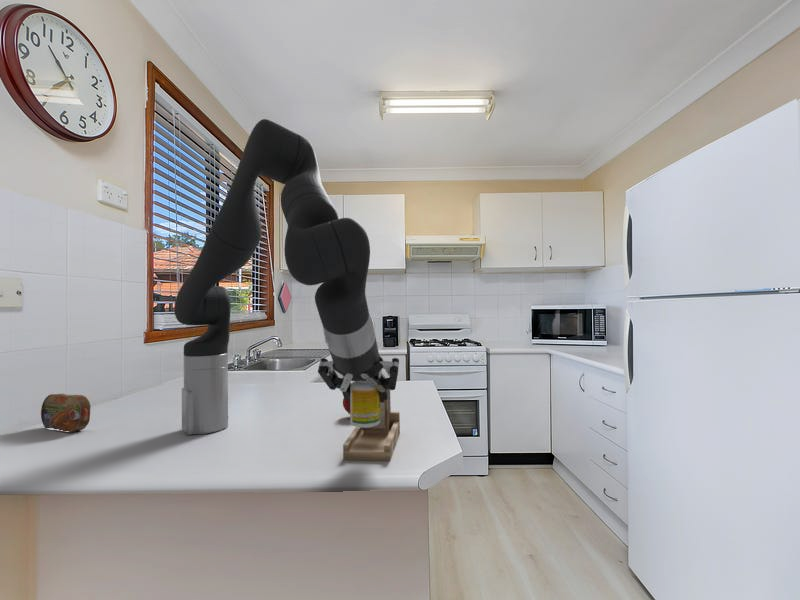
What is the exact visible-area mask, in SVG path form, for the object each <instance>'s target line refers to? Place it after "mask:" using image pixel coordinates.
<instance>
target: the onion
mask: <svg viewBox="0 0 800 600" xmlns="http://www.w3.org/2000/svg"><path fill="white" fill-rule="evenodd" d="M342 407H343V409H344V410H345V411H346V412H347V413H348V415H350V402H348V400H347V399H345V398H344V397H343V399H342Z"/></svg>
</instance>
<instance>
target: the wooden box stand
mask: <svg viewBox="0 0 800 600" xmlns="http://www.w3.org/2000/svg"><path fill="white" fill-rule="evenodd" d="M391 408H392V407H391V390H390V389H388V399H387V400H385V402H380V423H379V424H378V425H376V426H373V427H367V428H362V427H355V428H354V429H353V431H352V432H351V433H350V434H349V436H348V437H347V439H346V440H345V441H344V442H343V444H342V456H343V457H342V458H343V459H342V460H344V461H347V460H348V461H377V462H378V461H386V462H391V460H392V457H393V453H394V450H395V448H396V445H397V442H398V439H399V436H400V434H401V429H400V428H401V426H400V425H401V424H400V423H401V422H400V416H401V415H400V411H392V410H391Z"/></svg>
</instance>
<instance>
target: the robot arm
mask: <svg viewBox="0 0 800 600" xmlns="http://www.w3.org/2000/svg"><path fill="white" fill-rule="evenodd" d="M259 176H262V177H265V178H267V179H269V180H272V181H275V182H276V183H280V184H282V185H284V186H283V188H282V191H281V194H280V206H281V210H282V213H283V217H284V219H285V222H286V224H287V229H286V232H285V234H286V235H285V239H284V260H285V263H286V264H285V265H286V268H287V269H288V272H289V273H290V275H291V277H292V278H293V279H294V280H295V281H297V282H298V283H300V284H302V285H304V286H316V285H319V286H318V287H317V289H316V291H315V295H314V302H315V305H316V309H317V312H318V315H319V318H320V322H321V325H322V331H323V335H324V336H323V337H324V341H325V343H326V345H327V348H328V351H329V354H330V357H331V360H330V361H329V360H328V359H327V358H325V357H324V358H323V357H322V358H320V362H319V365H318V369H317V373H318V374H319V376H320V377H321V379H322V380H323V381H324V383H325V384H326V385H327V387H328V388H329V389H330V390H332V391H335V390H336V389H339V391H340V392H341V393H342V396H343V399H344V398H345V399H347V400H348V402H350V385H351V383H352V382H354V381H359V380H361V381H367V382H368V383H369V384H370V385H371V386H372V387H376V388H377V389H378V393H379V398H380V402H385V400H387V399H388V389H390V391H394V390H395V389H396V387H397V381H398V375H399V365H400V359H399V358H398V357H393V358H392V359H391V361H389V360H384V359H383V358H382V357H381V355H380V353H379V348H378V347H379V346H378V342H377V337H376V331H375V327H374V323H373V320H372V317H371V315H370V312H369V311H370V310H369V306H368V305H369V304H368V301H367V297H366V296H367V295H366V286H367V277H368V272H369V267H370V266H369V265H370V259H371V245H370V240H369V235H368V234H367V231H366V229H365V228H364V227H363V226H362V224H361V223H360V222H359V221H357V220H356V219H354V218H351V217H341V218H339V215H338V211H337V209H336V208H335V206H334V204H333V202H332V201H331V198H330V197H329V195H328V193H327V192H326V190H325V188H324V186H323V184H322V183H323V182H322V178H321V173H320V168H319V164H318V158H317V155H316V152H315V149H314V147H313V145H312V143H311V142H310V141H309V139H307V138H305V137H304V136H302V135H301V134H298V133H296V132H295V131H292V130H290V129H288V128H286V127H284V126H283V125H280V124H278V123H276V122H275V121H272V120H269V119H267V118H263V119H260V120H259V121H257V123H256V124H255V125H254V127H253V128H252V130H251V132H250V134H249V136H248V139H247V142H246V145H245V147H244V149H243V152H242V155H241V158H240V160H239V163H238V166H237V169H236V171H235V175H234V178H233V180H232V183H231V185H230V188H229V190H228V192H227V194H226V197H225V198H224V201H223V203H222V205H221V207H220V209H219V211H218V213H217V215H216V216H215V219H214V221H213V223H212V225H211V228H210V229H209V232H208V234H207V236H206V239H205V242H204V244H203V246H202V248H201V250H200V253H199V256H198V257H197V259H196V261H195V263H194V265H193V267H192V268H191V270H190V272H189V273H188V275H187V277H186V278H185V280H184V282H183V283H182V284H181V287H180V288H179V291H178V292H177V295H176V298H175V302H174V307H173V308H174V309H173V310H174V317H175V319H176V320H177V321H178V322H179V323H180V324H182V325H184V326H207V330H206V331H205V332H203V334H202V335H200V336H198V337H196V338H194V339H192V340H188V341H187V342H186V343H185V344H184V345H183V387H182V388H181V430H182V431H183V433H184V434H185V435H186V436H190V435H201V434H202V435H203V434H210V433H216V432H219V431H221V430H224V429H226V428H227V427H228V426H229V363H228V362H229V361H228V360H229V358H228V357H229V353H228V352H229V348H228V347H229V342H230V331H231V330H230V328H231V327H230V325H231V312H232V311H231V309H232V307H231V305H232V304H231V303H232V302H231V297H230V293H229V291H228V290H227V288H226V287H224V286H218V285H217V284H218V283H220V282H221V281H223V280H224V279H226V278H227V277H229V276H231V275H233V274H234V273H236V272H238V271H239V270H240V269H242V268H243V267H245V266H246V264H248V262H249V261H250V260H251V258H252V256H253V255H254V253H255V252H256V249H257V248H258V246H259V244H260V241H261V239H262V234H263V233H262V231H263V230H262V229H263V228H262V223H261V219H260V216H259V215H260V214H259V211H258V206H257V202H256V196H255V186H256V181H257V179H258V177H259ZM383 369H384V370H385V372H386V374H387V376H388V377H386V376H385V375H384V374H383V372H382V370H383ZM337 373H338V374H340V375H341V376H342V377H339V375H338V374H337Z"/></svg>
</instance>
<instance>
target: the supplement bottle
mask: <svg viewBox="0 0 800 600" xmlns="http://www.w3.org/2000/svg"><path fill="white" fill-rule="evenodd" d="M349 421H350V425H351V426H353V427H355V428H356V427H362V428H367V427H373V426H376V425H378V424H379V423H380V398H379V393H378V389H377V388H376V387H372V386H371V385H370V384H369V383H368V382H367V381H361V380H359V381H351V385H350V414H349Z"/></svg>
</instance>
